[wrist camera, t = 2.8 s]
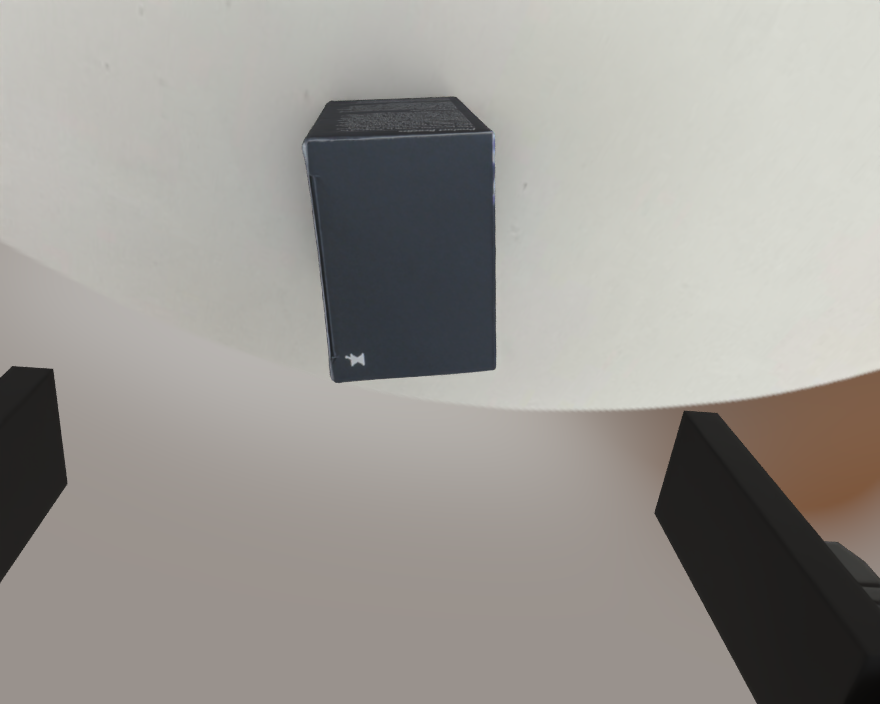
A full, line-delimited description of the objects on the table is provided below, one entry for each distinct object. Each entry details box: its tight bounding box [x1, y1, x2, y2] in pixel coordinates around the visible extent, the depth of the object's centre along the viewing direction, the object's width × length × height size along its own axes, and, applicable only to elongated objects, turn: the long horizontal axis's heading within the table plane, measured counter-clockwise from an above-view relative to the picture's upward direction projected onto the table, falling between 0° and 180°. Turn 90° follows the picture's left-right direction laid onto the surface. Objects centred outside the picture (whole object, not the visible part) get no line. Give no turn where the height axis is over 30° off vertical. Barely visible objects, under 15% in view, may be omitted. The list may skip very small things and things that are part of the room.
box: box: [302, 97, 496, 383], centre depth 27 cm, size 8×6×11 cm
